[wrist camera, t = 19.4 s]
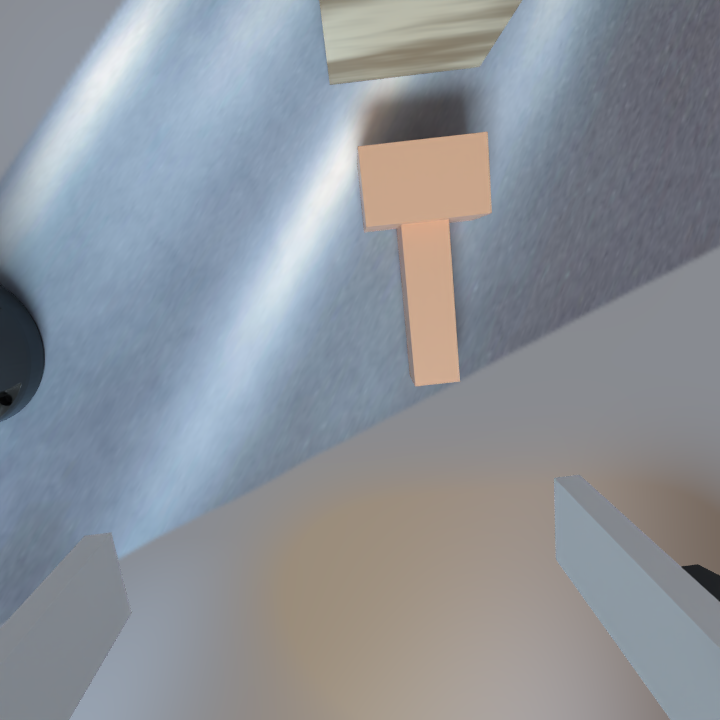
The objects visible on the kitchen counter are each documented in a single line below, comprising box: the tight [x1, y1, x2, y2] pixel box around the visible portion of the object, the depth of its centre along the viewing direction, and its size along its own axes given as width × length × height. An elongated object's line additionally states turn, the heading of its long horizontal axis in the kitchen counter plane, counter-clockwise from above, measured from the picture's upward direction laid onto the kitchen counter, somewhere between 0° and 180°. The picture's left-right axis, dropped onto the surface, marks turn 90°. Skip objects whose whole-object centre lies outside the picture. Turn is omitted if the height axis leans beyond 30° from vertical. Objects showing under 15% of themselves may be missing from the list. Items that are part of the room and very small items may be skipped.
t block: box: [357, 132, 492, 386], centre depth 41 cm, size 20×10×6 cm, turn 6°
